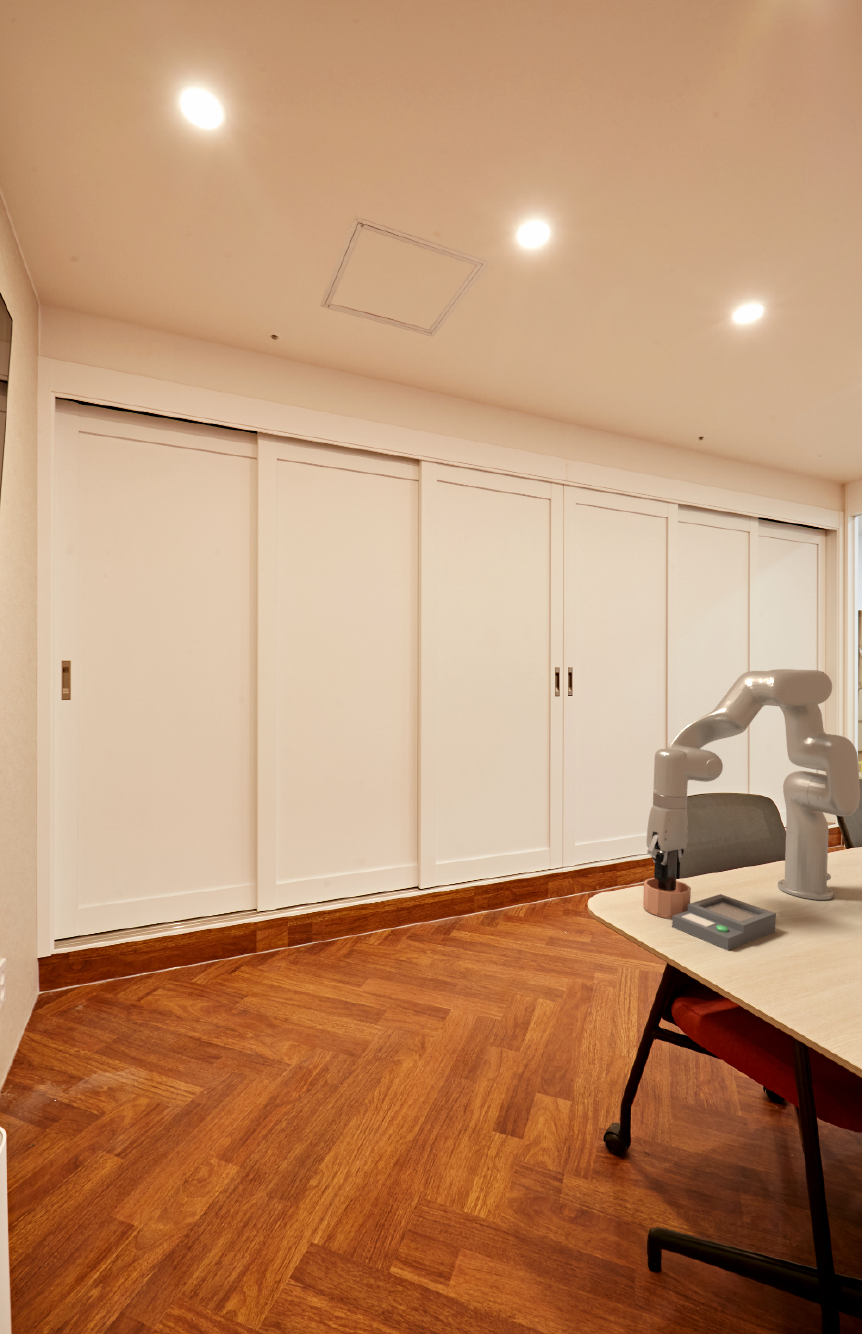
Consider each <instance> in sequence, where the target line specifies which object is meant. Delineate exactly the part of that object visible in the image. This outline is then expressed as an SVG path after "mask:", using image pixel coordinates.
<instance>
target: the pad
mask: <svg viewBox="0 0 862 1334" xmlns="http://www.w3.org/2000/svg"><path fill="white" fill-rule="evenodd" d="M705 908H706V909H709V910H711V911H714V912H717V913H719V914H722V915H725V916H727V917H730V918H733V919H735V920H738V921H743V920H746V919H749V918H751V917H754V916H757V915H759V914H757V913H754V912H751V911H748V910H746V909H743V908H740V907H737V906H734V905H731V904H729V903H726V902H721V903H718V904H714V905H711V906H708V907H705Z"/></svg>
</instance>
